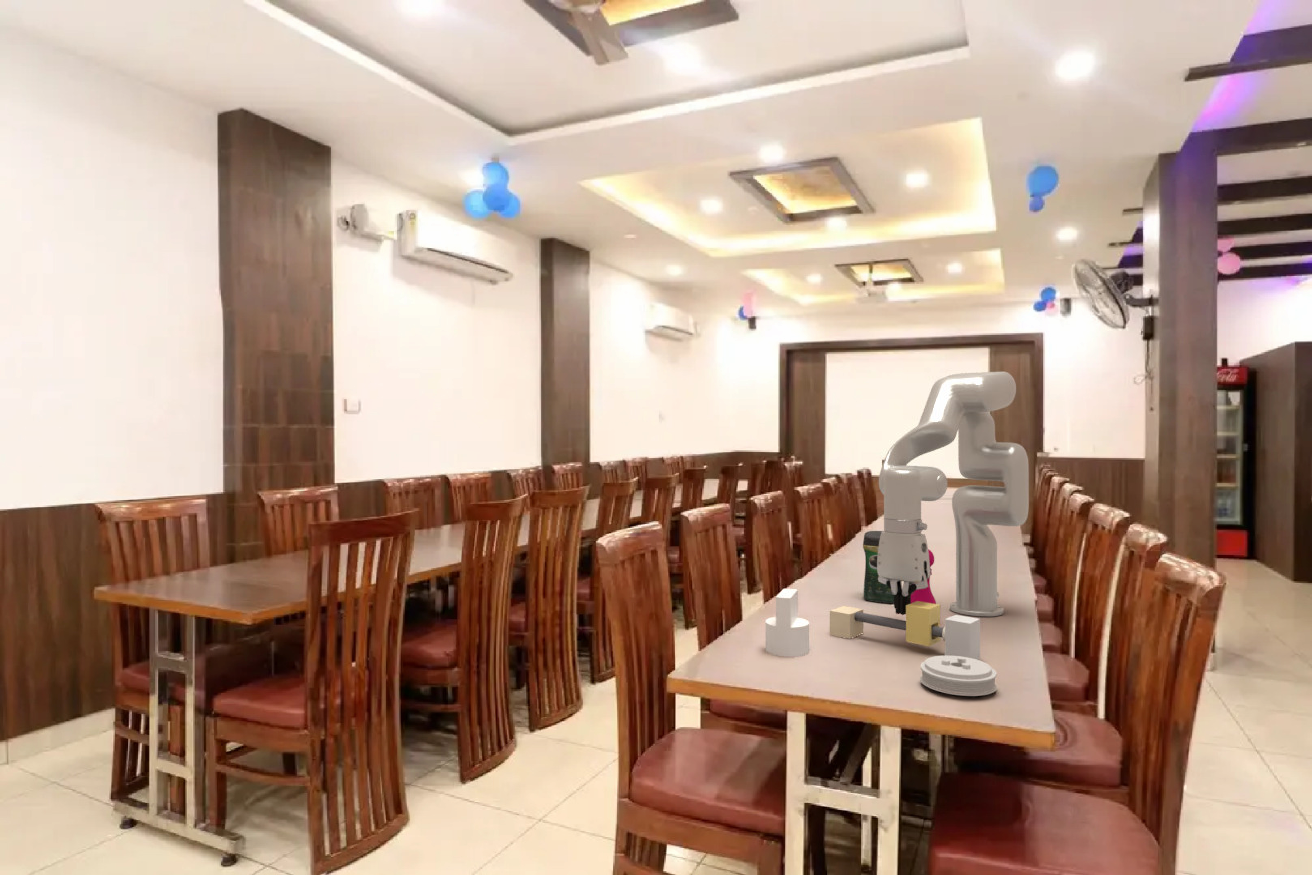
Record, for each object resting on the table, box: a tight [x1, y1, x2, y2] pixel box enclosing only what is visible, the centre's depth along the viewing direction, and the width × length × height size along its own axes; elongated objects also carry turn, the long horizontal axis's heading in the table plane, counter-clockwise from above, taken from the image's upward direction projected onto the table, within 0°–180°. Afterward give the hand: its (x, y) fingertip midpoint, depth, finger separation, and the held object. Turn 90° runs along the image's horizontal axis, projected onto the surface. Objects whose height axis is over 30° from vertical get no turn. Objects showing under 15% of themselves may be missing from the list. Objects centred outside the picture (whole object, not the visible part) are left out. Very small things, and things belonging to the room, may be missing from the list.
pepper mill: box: [911, 548, 937, 604], centre depth 176 cm, size 7×7×20 cm
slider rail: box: [829, 605, 981, 660], centre depth 160 cm, size 6×31×8 cm, turn 46°
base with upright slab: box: [765, 588, 810, 658], centre depth 158 cm, size 9×9×12 cm
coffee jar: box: [862, 530, 894, 604], centre depth 202 cm, size 10×8×19 cm
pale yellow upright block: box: [905, 601, 941, 647], centre depth 157 cm, size 5×5×8 cm
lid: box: [919, 655, 998, 697], centre depth 135 cm, size 13×13×5 cm
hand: (902, 612), depth 160 cm, fingers closed
